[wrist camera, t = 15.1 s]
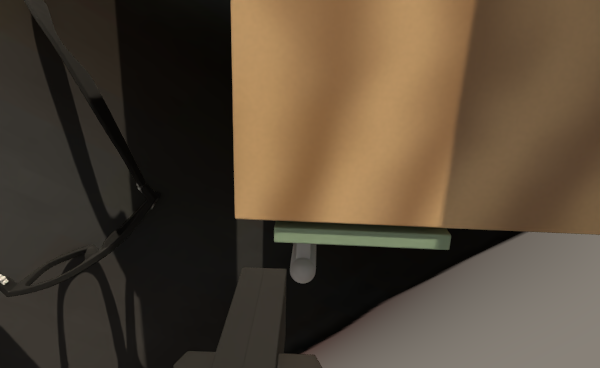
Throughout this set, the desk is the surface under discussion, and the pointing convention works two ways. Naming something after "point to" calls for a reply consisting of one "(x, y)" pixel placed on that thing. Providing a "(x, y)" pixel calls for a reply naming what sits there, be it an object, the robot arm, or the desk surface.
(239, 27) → the cabinet
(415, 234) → the sliding door
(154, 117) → the desk surface
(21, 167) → the desk surface
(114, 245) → the glasses
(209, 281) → the desk surface
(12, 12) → the desk surface
